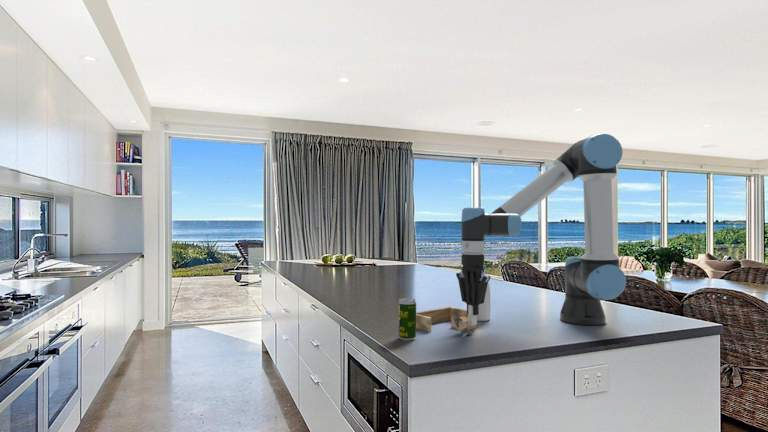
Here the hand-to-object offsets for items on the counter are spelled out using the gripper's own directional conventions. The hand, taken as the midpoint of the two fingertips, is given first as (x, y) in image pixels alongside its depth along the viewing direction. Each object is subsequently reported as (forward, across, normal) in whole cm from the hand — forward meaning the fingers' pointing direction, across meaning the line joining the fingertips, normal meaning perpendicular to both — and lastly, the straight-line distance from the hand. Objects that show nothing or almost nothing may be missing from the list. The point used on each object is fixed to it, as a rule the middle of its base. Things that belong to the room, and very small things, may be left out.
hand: (472, 324), depth 154 cm
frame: (+2, -11, -4) cm, 12 cm away
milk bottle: (+2, -9, +14) cm, 17 cm away
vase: (+2, +2, -8) cm, 9 cm away
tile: (+2, -4, 0) cm, 4 cm away
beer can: (+2, -5, -25) cm, 25 cm away
